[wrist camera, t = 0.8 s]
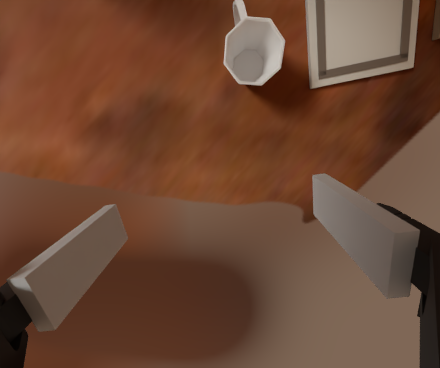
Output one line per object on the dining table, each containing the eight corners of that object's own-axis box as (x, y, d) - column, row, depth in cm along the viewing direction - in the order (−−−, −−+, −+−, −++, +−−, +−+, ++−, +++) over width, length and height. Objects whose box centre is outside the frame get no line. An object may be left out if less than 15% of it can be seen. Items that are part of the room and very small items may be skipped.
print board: (302, -46, 26) (305, -53, 25) (420, -78, 25) (428, -85, 24) (309, 89, 31) (312, 88, 30) (408, 68, 29) (414, 67, 29)
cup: (231, 100, 32) (232, 95, 24) (210, 28, 29) (204, -4, 21) (276, 85, 31) (292, 74, 23) (259, 9, 28) (271, -32, 20)
